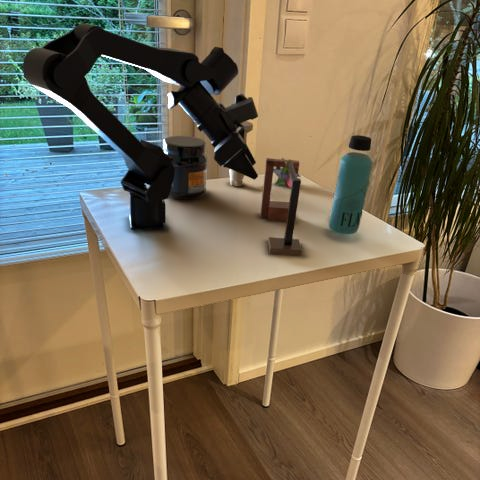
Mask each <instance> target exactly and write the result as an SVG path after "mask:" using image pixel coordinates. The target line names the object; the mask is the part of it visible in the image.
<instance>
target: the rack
mask: <svg viewBox="0 0 480 480" xmlns="http://www.w3.org/2000/svg"><path fill="white" fill-rule="evenodd" d="M286 160H287V161H286V162H285V165H286V167H287V168H288V172H289V175H290V178H291V181H292V186H291V188H290V194H289V201H288V202H289V208H288V215H287V222H286V221H285V222H286V223H285V230H284V237H273V236H269V237H268V240H267V244H268V251H269V252H268V253H269V254H270V255H283V256H297V257H300V256H302V252H303V249H302V245H301V241H300V239H299V238H294V231H295V225H296V217H297V211H298V206H299V198H300V191H301V186H302V179H301V178H299V177H297V176H296V173H295V170H294V167H293V161H292V160H293V159H286Z"/></svg>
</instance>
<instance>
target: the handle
mask: <svg viewBox="0 0 480 480" xmlns="http://www.w3.org/2000/svg"><path fill="white" fill-rule="evenodd" d="M242 123H243V127H244V130H245V131H244V140H245V142H246V143H247V139H248V138H247V137H248V134H249V133H250V132H252V131H253V130H254V129H253V128H254V124H253V123H252V122H250V121H249V120H247V121H245V122H242ZM240 129H241V128H240V127H238V128H237V130H238V131H239V130H240ZM244 178H245V175H243V174H241V173H239V172H236V171H234V170H232V169H229V183H230V186H233V187H241V186H242V185H243V183H244V180H243V179H244Z"/></svg>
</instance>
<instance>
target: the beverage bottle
mask: <svg viewBox="0 0 480 480" xmlns="http://www.w3.org/2000/svg"><path fill="white" fill-rule="evenodd" d="M348 149H351V150H354V151H351V152H350V151H349V152H348V153H346V154H344V155H343V156H341V158H340V163H339V168H338V174H337V180H336V184H335V190H334V194H333V199H332V204H331V209H330V214H329V220H328V228H329V229H330V230H331V231H333V232H335V233H337V234H342V235H353V234H356V233H357V232H358V230H359V228H360V226H361V220H362V218H363V213H364V208H365V203H366V197H367V193H368V188H369V186H370V180H371V174H372V173H371V172H372V167H373V165H374V163H373V160H372V159H371V157H370V156H369V155H368V154H366V153H362V152H369V151H371V149H372V138H371V137H370V136H366V135H360V134H355V135H351V136H350V139H349V142H348ZM356 151H360V152H356Z"/></svg>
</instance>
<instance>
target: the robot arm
mask: <svg viewBox="0 0 480 480" xmlns="http://www.w3.org/2000/svg"><path fill="white" fill-rule="evenodd" d="M101 57H106V58H109V59H112V60H115V61H118V62H122V63H124V64H128V65H131V66H135V67H137V68H141V69H144V70H146V71H147V72H148V73H150V74H151V75H153V76H154V77H156V78H158V79H159V80H162V81H163V82H164V83H169V84H171V85H175V86H179V88H178V89H177V90H176V91H174V90H171V91H169V92H168V93H167V97H168V98H167V99H168V104H167V108H168V109H169V110H172V109H173V108H175V107H177V106H178V105H180V107H181V108H182V109H183V110H184V112H186V114H187V115H188V116H189V117H190V119H192V121H193V122H194V123H195V125H196V128H197V130H198V131H199V133H200V132H203V134H204V135H206V137H207V138H208V140H210V142H211V144H210V145H211V146H212V147H213V148H214V153H213V159H214V161H215V162H216V163H217V164H218V166H219V167H223V168H226V169H228V170H230V169H232V170H234V171H236V172H239V173H241V174H243V175H244V177H246V178H247V177H248V178H250V179H252V180H256V179H257V178H258V177H259V174H258V173H257V171H256V169H255V167H254V166H255V165H256V164H257V161H256V160H255V158H254V155H253V154H252V152H251V150H250V148H249V146H248V144H247V141H246V142H245V140H244V131H245V130H244V127H243V123H242V122H245V121H250V120H255V119H257V118H258V117H259V114H258V111H257V107H256V105H255V102H254V101H255V100H254V98H253V97H251V96H248V97H246V96H245V94H243V93H239V94H237V95H235V98H234V103H231V105H228V106H226V107H225V106H224V103H220V102H217V101H216V100H215V98H214V97H213V96H212V95H214V96H219V95H221V94H222V93H223V91H225V89H226V88H227V87H228V86H229V85H230V84H231V82H233V80H235V78H236V77H237V76H238V74H239V67H238V65H237V62H235V61H234V59H233V58H232V57H231V56H230V55H228V54H227V53H226V52H225V50H224V48H223V47H220V46H214V47H213V48H212V49H211V50H210V51H209V53H208V55H207V56H206V57H205V58H204V59H203V60H202V61H201V62H200V59H199V56H198V55H196V54H195V53H193V52H188V51H184V50H179V49H175V48H170V47H161V46H160V47H159V46H152V45H149V44H146V43H142V42H139V41H137V40H134V39H131V38H128V37H126V36H122V35H120V34H117V33H115V32H111V31H109V30H106V29H104V28H103V27H101V26H100V25H96V24H89V23H86V22H85V23H84V22H82V23H79V24H78V25H76V26H75V27H73V28H72V29H71V30H70V31H68V32H67V33H64V34H62V35H61V36H58V37H56V38H54V39H52V40H50V41H48V42H47V43H45V44H44V45H43V46H42V47H34V48H32V49H30V50H29V51H28V52H27V53H26V55H25V56H24V59H23V60H22V61H23V63H22V70H23V76H24V78H25V80H26V81H27V82H28V83H29V84H30V85H31V86H33V87H34V88H36V89H37V90H39V91H40V92H42V93H43V94H45V95H46V96H48V97H50V98H52V99H54V100H55V101H57V102H58V103H60V104H63V105H64V106H66V107H67V108H69V109H70V110H71V111H72V112H73V113H74V114H76V115H77V116H78V117H79V118H80V119H81V120H82V121H83V122H84V123H85V124H86V125H87V126H88V127H90V128H91V129H92V130H93V131H94V132H95V133H96V134H97V135H99V137H101V138H102V139H103V140H104V141H105V143H107V144H108V146H110V147H111V148H112V149H113V150H114V151H116V153H118V154H119V155H120V156H121V157H122V158H123V161H124V163H125V166H126V168H127V169H128V170H127V171H126V173H125V174H124V176H123V177H122V179H121V180H120V184H121V187H122V189H123V191H125V192H127V193H129V195H128V196H129V226H130V230H132V231H150V230H155V231H156V230H164V229H165V225H164V224H166V216H167V215H166V207H167V206H166V202H165V200H168V199H169V197H170V196H169V194H170V190H171V187H172V183H173V180H174V175H175V166H174V165H173V163H172V162H171V161H173V159H172V158H170V157H168V156H167V155H166V153H165V152H164V151H165V150H164V148H162V147H161V146H160V145H158V144H155V143H152V142H150V141H147V140H145V139H140V140H139V139H138V137H136V135H134V134H133V132H131V131H130V129H128V128H127V126H125V124H124V123H123V122H121V120H119V118H117V117H116V116H115V114H113V113H112V112H111V111H110V109H109V108H108V107H107V106H106V105H105V104H104V103H103V102H102V101H101V100H100V99H98V97H97V96H96V95H95V94H94V93H93V91H91V87H90V86H89V85H90V84H89V82H88V80H87V78H86V76H87V75H88V74H89V73H90V72H91V71H92V69H93V68H94V65H95V64H96V62H97V60H98V59H100V58H101ZM238 127H240V128H241V129H240V130H239V131H238V130H237V128H238Z"/></svg>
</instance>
